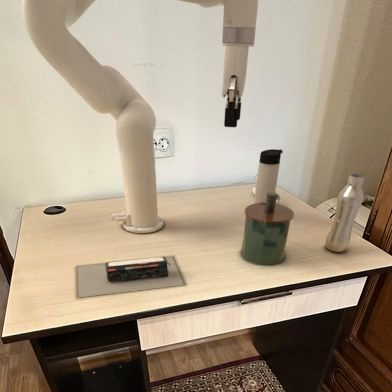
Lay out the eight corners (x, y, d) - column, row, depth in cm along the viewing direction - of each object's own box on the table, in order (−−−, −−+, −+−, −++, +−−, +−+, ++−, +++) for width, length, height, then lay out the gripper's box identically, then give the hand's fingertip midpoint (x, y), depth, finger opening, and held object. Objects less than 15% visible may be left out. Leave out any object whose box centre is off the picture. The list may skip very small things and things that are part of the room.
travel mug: (273, 220, 119) (284, 152, 106) (253, 219, 119) (261, 152, 106) (270, 212, 124) (281, 147, 111) (251, 212, 124) (259, 146, 111)
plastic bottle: (347, 246, 106) (370, 173, 93) (346, 256, 101) (370, 181, 88) (324, 242, 108) (344, 170, 94) (322, 252, 103) (343, 177, 90)
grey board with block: (183, 284, 89) (183, 269, 86) (78, 297, 84) (74, 281, 81) (172, 257, 99) (171, 242, 96) (77, 266, 94) (74, 251, 91)
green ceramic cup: (249, 267, 96) (255, 224, 88) (236, 247, 104) (240, 207, 97) (290, 262, 98) (299, 221, 90) (273, 243, 106) (280, 204, 99)
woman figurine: (260, 196, 122) (240, 183, 136) (259, 210, 125) (240, 196, 139) (291, 194, 125) (269, 181, 138) (289, 207, 128) (267, 193, 141)
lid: (254, 228, 88) (257, 204, 84) (237, 208, 97) (239, 186, 94) (301, 224, 91) (306, 200, 87) (281, 205, 100) (285, 183, 96)
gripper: (226, 36, 91) (221, 116, 103) (217, 38, 78) (213, 129, 90) (256, 37, 90) (248, 117, 102) (252, 39, 78) (244, 130, 89)
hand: (232, 123), depth 96 cm, fingers open, 9 cm apart
